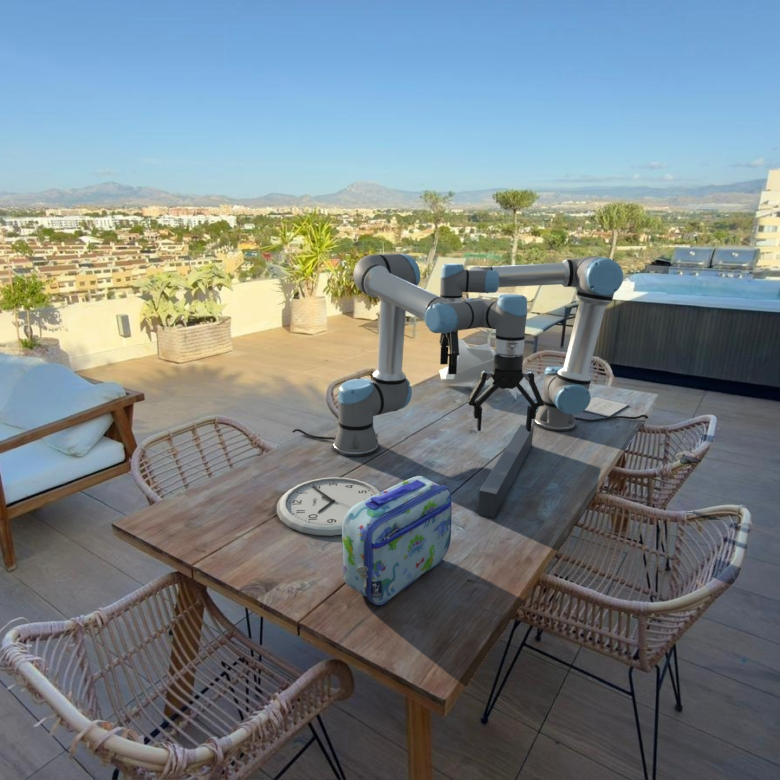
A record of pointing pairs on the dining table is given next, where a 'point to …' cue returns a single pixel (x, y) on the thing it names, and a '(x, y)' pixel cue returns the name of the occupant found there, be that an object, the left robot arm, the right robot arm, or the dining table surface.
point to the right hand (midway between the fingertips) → (447, 369)
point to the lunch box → (395, 537)
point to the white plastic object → (473, 365)
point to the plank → (504, 473)
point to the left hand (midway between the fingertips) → (503, 429)
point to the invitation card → (604, 406)
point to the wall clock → (322, 504)
